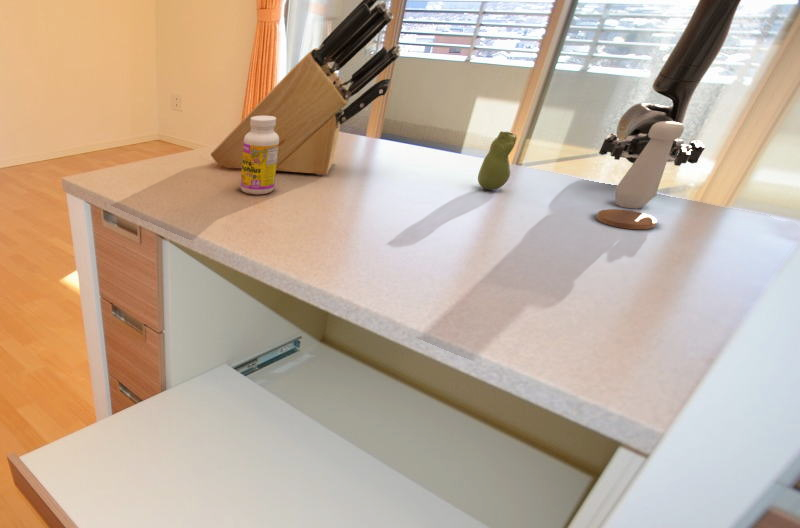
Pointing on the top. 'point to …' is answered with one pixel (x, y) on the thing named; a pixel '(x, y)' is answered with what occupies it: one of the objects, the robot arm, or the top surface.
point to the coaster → (626, 219)
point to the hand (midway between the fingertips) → (649, 156)
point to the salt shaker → (648, 166)
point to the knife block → (318, 96)
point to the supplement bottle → (260, 156)
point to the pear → (497, 162)
